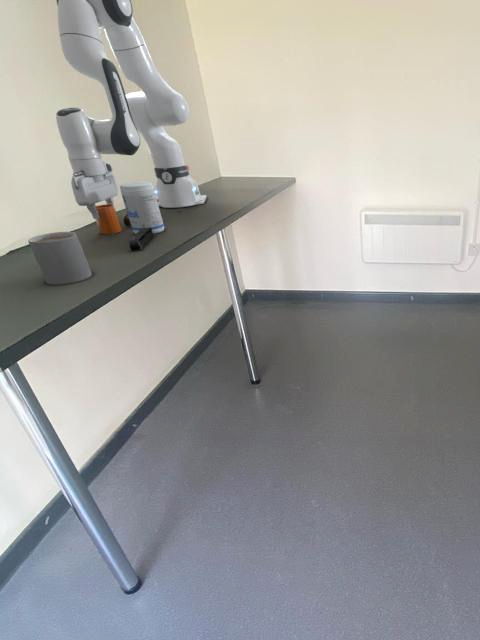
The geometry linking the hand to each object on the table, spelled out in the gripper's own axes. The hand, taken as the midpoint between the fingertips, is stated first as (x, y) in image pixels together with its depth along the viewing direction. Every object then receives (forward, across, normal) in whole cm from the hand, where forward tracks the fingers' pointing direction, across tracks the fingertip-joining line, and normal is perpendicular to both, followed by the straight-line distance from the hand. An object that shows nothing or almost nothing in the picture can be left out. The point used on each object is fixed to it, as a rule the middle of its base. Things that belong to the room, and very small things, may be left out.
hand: (104, 215), depth 157 cm
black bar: (+6, -17, -18) cm, 25 cm away
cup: (+5, 0, 0) cm, 5 cm away
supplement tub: (+5, -2, -14) cm, 15 cm away
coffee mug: (+6, -46, -12) cm, 48 cm away
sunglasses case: (+5, +14, -5) cm, 16 cm away
